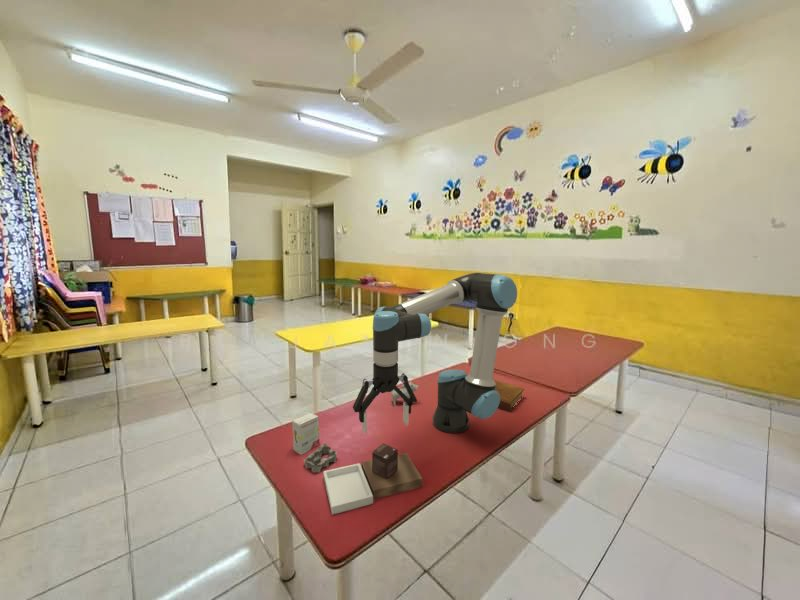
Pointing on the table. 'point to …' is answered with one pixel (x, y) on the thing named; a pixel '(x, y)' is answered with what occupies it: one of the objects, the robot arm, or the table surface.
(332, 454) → the grey lobed frame
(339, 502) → the bin
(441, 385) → the robot arm
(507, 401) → the diary
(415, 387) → the dog figurine
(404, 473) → the wooden board
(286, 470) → the table surface
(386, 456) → the box
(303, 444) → the ink box
